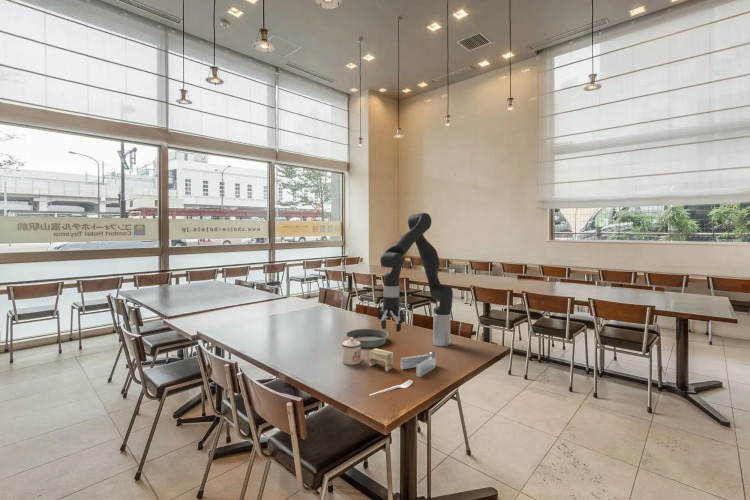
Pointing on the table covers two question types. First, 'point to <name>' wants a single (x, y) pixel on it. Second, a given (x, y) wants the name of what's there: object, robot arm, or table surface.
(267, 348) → the table surface
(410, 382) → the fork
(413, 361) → the moving jaw
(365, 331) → the cake pan
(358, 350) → the teacup with lid
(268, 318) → the table surface
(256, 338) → the table surface
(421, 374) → the fixed jaw
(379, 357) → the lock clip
